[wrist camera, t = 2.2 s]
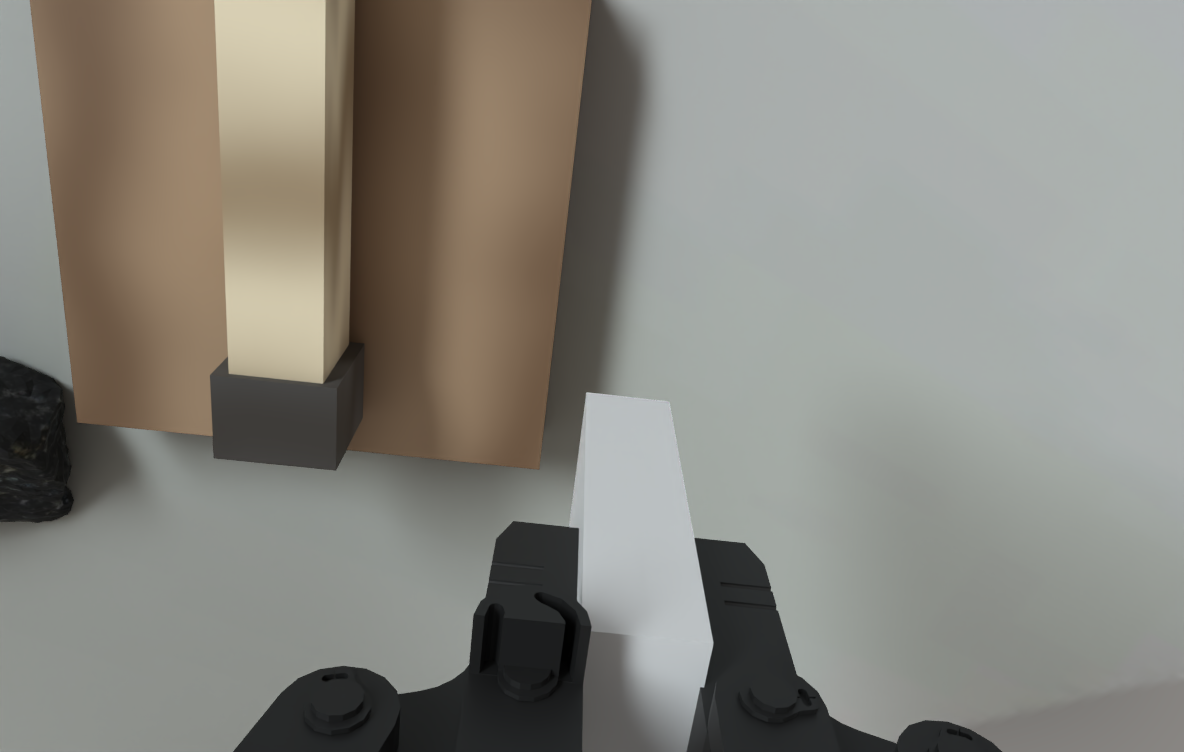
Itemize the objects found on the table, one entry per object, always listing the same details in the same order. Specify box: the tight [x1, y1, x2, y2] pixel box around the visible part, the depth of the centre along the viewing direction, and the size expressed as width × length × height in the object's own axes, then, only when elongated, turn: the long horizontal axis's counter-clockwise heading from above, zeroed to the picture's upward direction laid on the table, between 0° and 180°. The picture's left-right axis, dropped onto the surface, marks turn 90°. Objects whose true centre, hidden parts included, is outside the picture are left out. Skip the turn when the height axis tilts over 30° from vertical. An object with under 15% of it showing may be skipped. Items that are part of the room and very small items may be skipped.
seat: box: [30, 0, 592, 469], centre depth 23 cm, size 14×20×7 cm
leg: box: [210, 0, 365, 470], centre depth 23 cm, size 15×3×3 cm, turn 173°
